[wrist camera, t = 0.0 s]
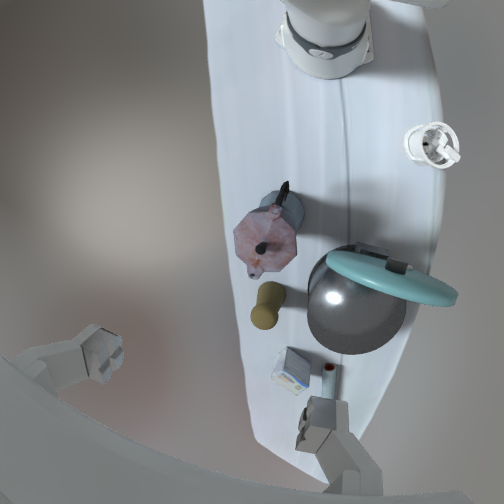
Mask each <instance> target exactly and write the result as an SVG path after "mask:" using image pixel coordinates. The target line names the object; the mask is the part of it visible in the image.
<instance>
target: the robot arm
mask: <svg viewBox="0 0 504 504" xmlns="http://www.w3.org/2000/svg"><path fill="white" fill-rule="evenodd" d="M280 1H281V2H283V3H284V5H285V7H286V9H287V12H286V13H284V15H283V21H282V23H281V25H280V28H279V30H278V32H277V34H276V36H275V39H276V42H277V43H278V44H279V45H280V46H282V47H283V48H284V49H285V50H286V51H287V53H288V54H289V56H290V58H291V60H292V61H293V63H294V64H295V65H296V66H297V67H298V68H299V69H300V70H302V71H303V72H305V73H307V74H309V75H311V76H314V77H317V78H322V79H336V78H340V77H343V76H346V75H348V74H349V73H351V72H352V71H353V70H355V69H356V68H357V67H358V66H360V65H363V64H367V63H370V62H371V61H373V58H374V51H373V41H372V32H371V23H370V16H369V10H370V6H371V1H370V0H280ZM391 1H396V2H401V3H406V4H411V5H416V6H421V7H426V8H431V9H435V10H437V9H441V8H444V7H446V6H448V5H450V4H452V3H453V2H455V1H456V0H391ZM367 50H369V52H367ZM121 344H122V337H120V336H119V335H117V334H115V333H113V332H111V331H109V330H106V329H104V328H102V327H100V326H98V325H96V324H90V325H89V326H88V327H87V328H85V329H84V330H83V331H82V332H81V333H80V334H78V335H77V336H76V337H75V338H74V339H73V340H72V341H69V340H66V341H62V342H57V343H52V344H47V345H43V346H38V347H33V348H28V349H26V350H24V351H23V352H22V353H21V354H20V355H18V356H17V357H16V358H15V359H13V360H12V361H11V362H10V361H8V360H7V359H6V358H5V357H4V356H2V355H1V354H0V504H475V503H474V502H473V501H472V500H471V499H470V498H469V497H468V496H467V495H466V494H464V493H463V492H462V491H460V490H450V491H443V492H435V493H426V494H414V495H395V496H394V495H393V496H383V478H382V470H381V469H380V468H379V467H378V465H377V464H376V463H375V462H374V460H373V459H372V458H371V456H370V455H369V454H368V452H367V451H366V450H365V449H364V447H363V446H362V445H361V443H360V442H359V441H358V439H357V438H356V437H355V435H354V434H353V433H350V432H349V415H348V403H347V402H346V401H339V400H333V399H328V398H322V397H316V396H310V398H309V400H308V402H307V407H306V408H304V410H303V412H302V414H301V417H300V421H299V426H298V430H299V431H300V433H299V435H298V436H297V440H296V448H295V450H297V451H302V452H307V453H313V454H315V456H316V458H317V460H318V462H319V464H320V466H321V468H322V470H323V472H324V474H325V475H326V477H327V479H328V481H329V483H330V486H329V487H328V488H327V489H326V490H324V491H323V492H322V493H318V492H310V491H303V490H296V489H289V488H283V487H278V486H272V485H267V484H263V483H257V482H254V481H249V480H245V479H241V478H237V477H233V476H230V475H226V474H222V473H219V472H216V471H212V470H209V469H206V468H203V467H199V466H197V465H194V464H191V463H188V462H185V461H182V460H180V459H177V458H174V457H172V456H169V455H167V454H164V453H161V452H159V451H157V450H154V449H152V448H150V447H147V446H145V445H143V444H141V443H138V442H136V441H134V440H132V439H130V438H128V437H126V436H124V435H122V434H120V433H118V432H116V431H114V430H112V429H110V428H108V427H106V426H104V425H102V424H100V423H99V422H97V421H95V420H93V419H91V418H90V417H88V416H86V415H84V414H83V413H81V412H80V411H78V410H76V409H75V408H73V407H71V406H70V405H68V404H67V403H65V402H64V401H62V400H60V399H59V397H58V395H57V392H56V391H58V390H61V389H63V388H66V387H68V386H71V385H73V384H76V383H78V382H81V381H83V380H86V379H88V377H89V378H91V379H93V380H95V381H97V382H99V383H101V384H103V385H104V384H105V383H106V382H107V381H108V380H109V378H110V377H111V376H112V373H111V371H114V370H117V369H118V368H119V367H120V365H121V363H122V360H123V350H122V348H121V347H120V345H121Z"/></svg>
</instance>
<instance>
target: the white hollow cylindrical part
mask: <svg viewBox="0 0 504 504" xmlns="http://www.w3.org/2000/svg"><path fill="white" fill-rule="evenodd" d="M433 125H436V126H437V127H431V126H433ZM430 127H431V128H430ZM418 128H421V129H420V130H416V131H414V130H415V129H418ZM413 131H414V132H413ZM444 132H448V133H449V134H450V136H451V138H452V140H453V144H454V150H453V149H452V148H451V147H450V146H449V145H446V142H447V141H448V138H447V137H446V135H445V134H444ZM424 133H426V134H427V135H428V136H429V137H430V138H431V139H430V138H428V137H426V136H424V137H423V135H424ZM445 145H446V147H445V148H443V147H444V146H445ZM404 150H405V152H406V154H407V156H408V158H409V159H410V160H411V161H412V162H414V163H416V164H418V165H423V166H428V165H430V166H432V167H435V168H440V169H444V168H448V167H450V166H451V165H452V164H454V162H458V161H459V160H460V158H461V156H460V155H459V142H458V138H457V136H456V135H455V132H454V131H453V130H452V129H451V128H450V127H449V126H448V125H446V124H444V123H442V122H431V123H428V124H426V125H418V126H414V127H412V128H410V129H409V130H408V131H407V133H406V134H405V137H404ZM425 154H429V155H430V156H429V157H428V158H427V156H426V155H425ZM443 158H445V159H446V160H447V161H448V162H447V163H445V164H442V165H437V164H434V163H435V162H439V161H441V160H442V159H443Z"/></svg>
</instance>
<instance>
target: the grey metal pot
mask: <svg viewBox="0 0 504 504" xmlns="http://www.w3.org/2000/svg"><path fill="white" fill-rule="evenodd" d="M332 251H346V252H353V253H358V254H362V255H367V256H371V257H375V258H379V259H382V260H386V261H387V258H388V257H391V258H392V256H391V255H390V253H389V252H388V250H386V249H382V248H378V247H375V246H371V245H367V244H364V243H360V242H357V245H346V246H341V247H338V248H336V249H334V250H332ZM327 255H328V253H327V254H325V255H324V256H323V257H322V258H321V259H320V260H319V261H318V262H317V263H316V265H315V266H314V268H313V270H312V272H311V274H310V277H309V281H308V296H309V299H308V312H307V318H308V324H309V328H310V330H311V332H312V334H313V336H314V337H315V338H316V340H317V341H318V342H319V343H320V344H322V345H323V346H324V347H326V348H328V349H329V350H332V351H334V352H337V353H341V354H347V355H356V354H363V353H367V352H371V351H373V350H376V349H378V348H380V347H381V346H383V345H384V344H386V343H387V342H388V341H390V340H391V339H392V338H393V337H394V335H395V334H396V333H397V332H398V330H399V329H400V327H401V325H402V323H403V320H404V317H405V313H406V300H405V299H402V298H399V297H395V296H392V295H389V294H386V293H383V292H381V291H378V290H375V289H372V288H370V287H367V286H365V285H362V284H360V283H358V282H355V281H353V280H351V279H349V278H347V277H345V276H343V275H341V274H339V273H337V272H336V271H334V270H333V269H331V268H330V267H329V266H328V265H327V264H326V258H327Z"/></svg>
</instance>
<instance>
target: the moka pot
mask: <svg viewBox="0 0 504 504" xmlns="http://www.w3.org/2000/svg"><path fill="white" fill-rule="evenodd" d="M304 214H305V213H304V209H303V206H302V203H301V201H300V199H299V198H297V197H296V196H295V195H293V194H292V193H291V192H289V181H286V182H284V184H283V185H282V186H281V189H280V191H273V192H271V193H270V194H268V195H267V196H266V197H264V198H263V199H262V200H261V203H260V206H259V208H257V209H255V210H253V211H251V212H249V213H248V214H247V215H246V216H245V217H244V219H243V220H242V221H241V222H240V223H239V224H238V226H237V227H236V228H235V229H234V231H233V233H234V242H235V253H236V256H237V257H239V258H240V259H241V260H242V261H243V262H244V263H245V264H246V265H247V273H248V276H249V278H251V279H254V280H257V279H259V277H260V276H261V275H262V273H263V272H279V271H281V270H282V269H283V268H284V267H285V266H286V265H287V264H288V263H289V262H290V261H291V260H292V259H293V258H294V257H295V256H296V255H297V243H296V231H297V230H298V229H299V228H300V226H301V224H302V221H303V218H304Z"/></svg>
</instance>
